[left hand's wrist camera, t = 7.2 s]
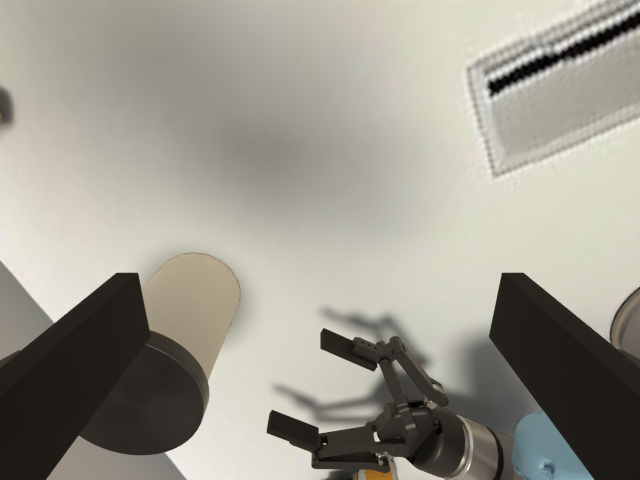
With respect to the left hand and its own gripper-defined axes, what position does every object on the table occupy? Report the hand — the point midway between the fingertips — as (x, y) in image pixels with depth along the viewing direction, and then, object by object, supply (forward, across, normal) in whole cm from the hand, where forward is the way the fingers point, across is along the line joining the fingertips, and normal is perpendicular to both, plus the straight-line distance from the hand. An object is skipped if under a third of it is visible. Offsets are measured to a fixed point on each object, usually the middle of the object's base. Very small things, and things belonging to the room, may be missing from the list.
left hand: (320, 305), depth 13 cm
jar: (+27, -15, -14) cm, 34 cm away
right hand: (+20, -3, -22) cm, 31 cm away
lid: (+10, -15, -14) cm, 23 cm away
